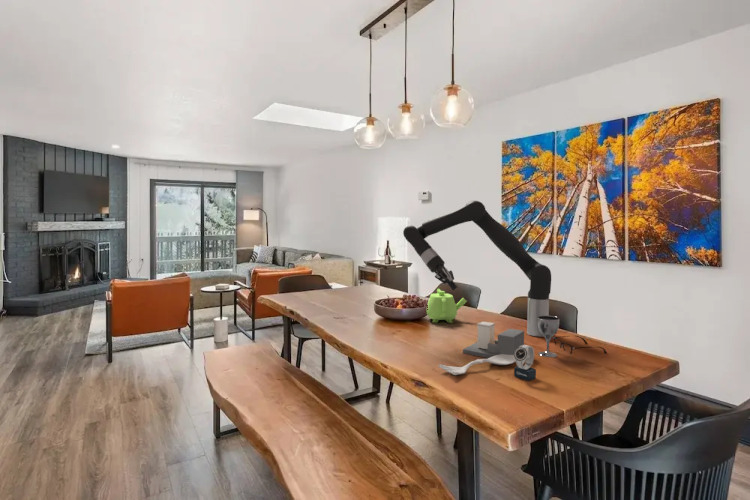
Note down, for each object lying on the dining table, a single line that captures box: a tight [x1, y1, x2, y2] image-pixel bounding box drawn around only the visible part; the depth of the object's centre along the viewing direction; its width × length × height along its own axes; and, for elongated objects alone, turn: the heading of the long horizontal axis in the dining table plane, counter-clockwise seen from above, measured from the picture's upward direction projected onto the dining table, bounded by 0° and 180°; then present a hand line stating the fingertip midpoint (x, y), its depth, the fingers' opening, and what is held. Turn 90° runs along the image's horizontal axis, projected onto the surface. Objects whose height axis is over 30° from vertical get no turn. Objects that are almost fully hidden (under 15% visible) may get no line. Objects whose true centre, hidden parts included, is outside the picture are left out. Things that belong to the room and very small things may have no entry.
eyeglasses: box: [552, 335, 607, 355], centre depth 177 cm, size 16×16×4 cm
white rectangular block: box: [477, 321, 496, 349], centre depth 174 cm, size 5×5×10 cm
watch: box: [513, 344, 537, 382], centre depth 145 cm, size 6×8×11 cm
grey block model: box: [462, 328, 525, 359], centre depth 172 cm, size 20×15×10 cm
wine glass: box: [537, 315, 560, 358], centre depth 169 cm, size 8×8×15 cm
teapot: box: [426, 288, 468, 323], centre depth 230 cm, size 25×22×16 cm
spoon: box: [438, 354, 516, 376], centre depth 154 cm, size 9×32×4 cm, turn 117°
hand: (455, 288), depth 190 cm, fingers closed
